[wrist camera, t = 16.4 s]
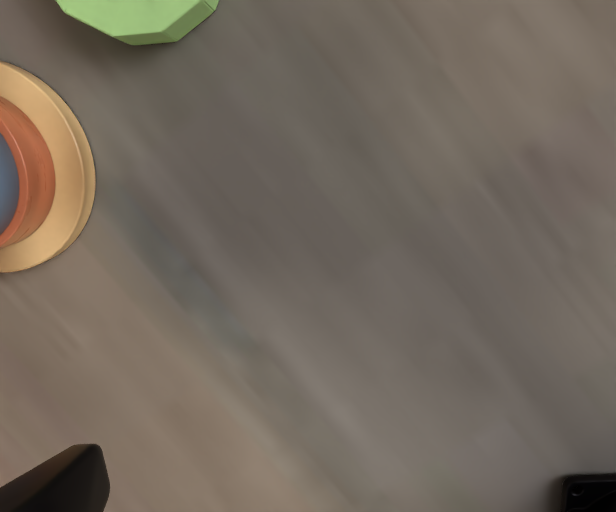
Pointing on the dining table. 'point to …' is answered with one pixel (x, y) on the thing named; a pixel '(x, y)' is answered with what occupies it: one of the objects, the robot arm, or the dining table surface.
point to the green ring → (141, 17)
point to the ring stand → (40, 172)
